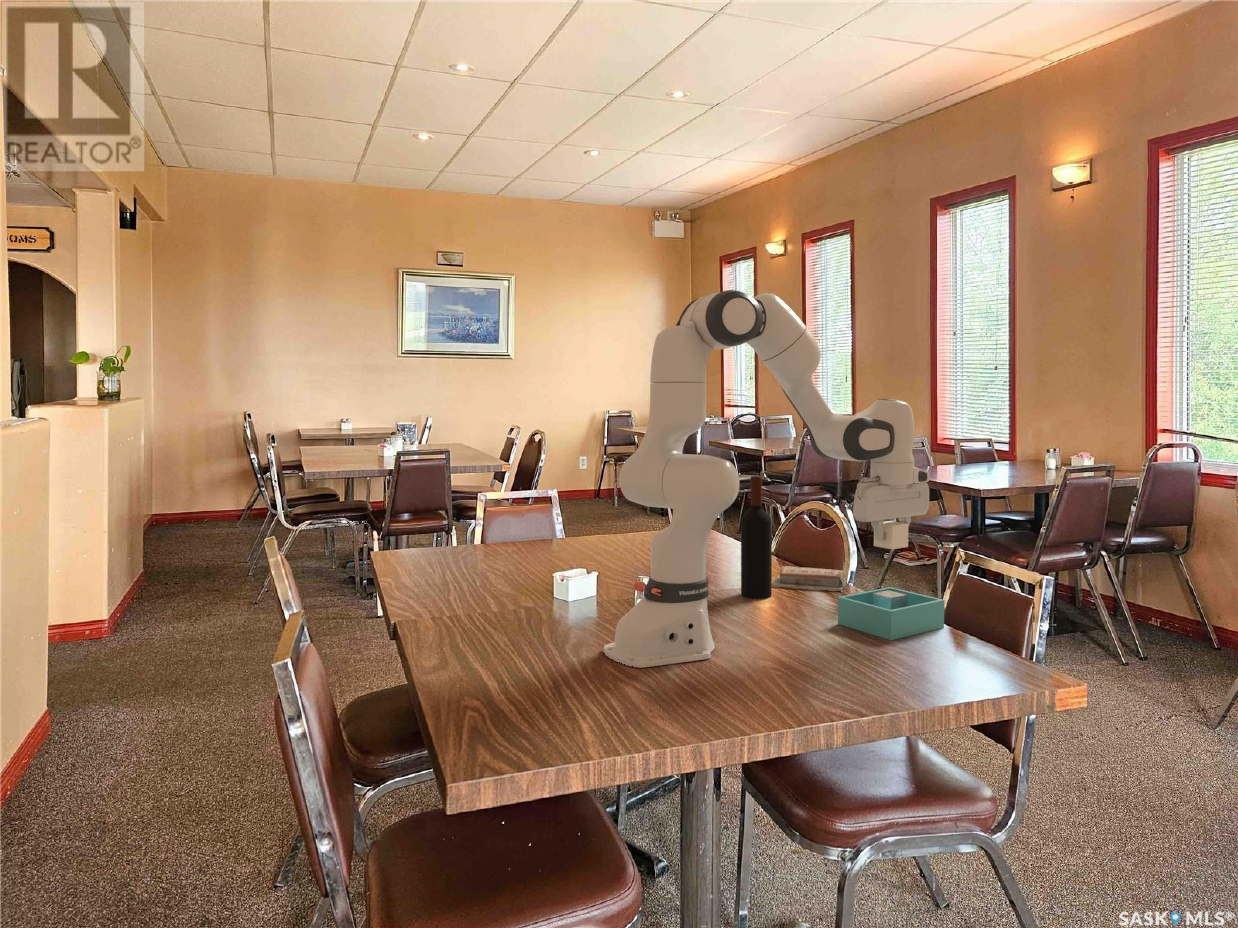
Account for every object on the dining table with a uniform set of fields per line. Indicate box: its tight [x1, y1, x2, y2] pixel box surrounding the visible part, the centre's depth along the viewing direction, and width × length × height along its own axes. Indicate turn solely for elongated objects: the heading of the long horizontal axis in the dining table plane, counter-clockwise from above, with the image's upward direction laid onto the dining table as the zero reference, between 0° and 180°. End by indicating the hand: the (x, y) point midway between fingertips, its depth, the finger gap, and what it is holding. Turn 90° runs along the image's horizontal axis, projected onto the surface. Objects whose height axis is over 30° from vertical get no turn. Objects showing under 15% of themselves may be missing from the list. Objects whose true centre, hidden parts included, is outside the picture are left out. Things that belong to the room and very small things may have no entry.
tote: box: [837, 586, 945, 641], centre depth 181 cm, size 17×15×6 cm
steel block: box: [873, 590, 907, 610], centre depth 181 cm, size 5×5×6 cm
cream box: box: [873, 520, 909, 550], centre depth 180 cm, size 5×5×5 cm
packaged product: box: [772, 565, 847, 592], centre depth 220 cm, size 18×5×10 cm
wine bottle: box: [740, 475, 773, 600], centre depth 209 cm, size 8×8×30 cm
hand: (890, 538), depth 180 cm, fingers closed on cream box, 5 cm apart
